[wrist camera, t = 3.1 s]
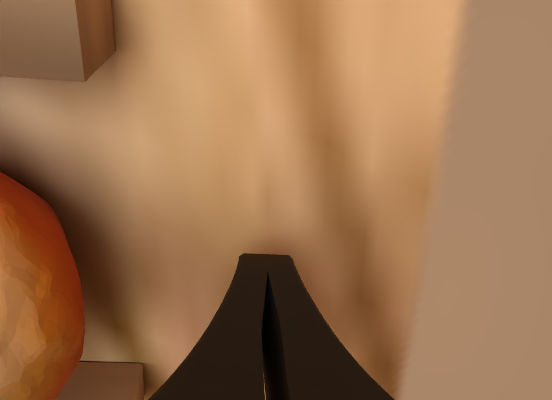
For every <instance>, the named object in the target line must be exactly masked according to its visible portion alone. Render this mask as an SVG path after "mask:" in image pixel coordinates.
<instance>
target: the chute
mask: <svg viewBox="0 0 552 400" xmlns="http://www.w3.org/2000/svg"><path fill="white" fill-rule="evenodd" d="M115 51H116V48H115V36H114V24H113V13H112V1H111V0H0V76H6V77H21V78H36V79H51V80H66V81H81V82H85V81H86V80H87V79H88V78H89V77H90V76H91V75H92V74H93V73H94V72H95V71H96V70H97V69H98V68H99V67H100V66H101V65H102V64H103V63H104V62H105V61H106V60H107V59H108V58H109V57H110V56H111V55H112V54H113V53H114V52H115ZM144 394H145V390H144V378H143V366H142V363H106V362H78V364H77V366H76V368H75V370H74V372H73V373H72V375H71V376H70V378H69V379H68V381H67V382H66V384H65V385H64V387H63V388H62V390H61V391H60V393H59V395H58V397H57V398H56V400H143V399H144Z"/></svg>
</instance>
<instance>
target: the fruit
mask: <svg viewBox="0 0 552 400" xmlns="http://www.w3.org/2000/svg"><path fill="white" fill-rule="evenodd" d="M84 333H85V330H84V307H83V297H82V289H81V283H80V278H79V274H78V271H77V267H76V264H75V261H74V258H73V256H72V253H71V251H70V248H69V246H68V243H67V240H66V236H65V233H64V231H63V228H62V226H61V224H60V222H59V220H58V218H57V216H56V214H55V212H54V210H53V209H52V208H51V206H50V205H49V204H48V203H47V202H46V201H44V200H43V199H42V198H41V197H39V196H38V195H37V194H35V193H34V192H32V191H31V190H29V189H28V188H26V187H24V186H23V185H21V184H20V183H18V182H16V181H15V180H13V179H12V178H10V177H8V176H6V175H5V174H3V173H1V172H0V400H56V398H57V397H58V395H59V393H60V391H61V390H62V388H63V387H64V385H65V384H66V382H67V381H68V379H69V378H70V376H71V375H72V373H73V372H74V370H75V368H76V366H77V364H78V362H79V360H80V358H81V356H82V352H83V343H84Z"/></svg>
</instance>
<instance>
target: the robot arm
mask: <svg viewBox="0 0 552 400" xmlns="http://www.w3.org/2000/svg"><path fill="white" fill-rule="evenodd" d="M263 373H264V377H263ZM264 383H265V392H266V400H394V399H393V398H392V397H391V396H390V395H389V394H388V393H387V392H386V391H385V390H384V389H383V388H382V387H381V386H380V385H378V384H377V383H376V382H375V381H374V380H373V379H372V378H371V377H370V376H369V375H368V374H367V373H366V371H365V370H364V369H363V368H362V367H361V366H360V365H359V364H358V363H357V361H356V360H355V359H354V358H353V357H352V356H351V354H350V353H349V352H348V351H347V349H346V348H345V347H344V346H343V344H342V343H341V342H340V341H339V339H338V338H337V337H336V335H335V334H334V332H333V331H332V330H331V328H330V327H329V325H328V324H327V322H326V321H325V320H324V318H323V316H322V315H321V313H320V312H319V310H318V308H317V307H316V305H315V303H314V302H313V300H312V298H311V297H310V295H309V293H308V292H307V290H306V288H305V286H304V284H303V282H302V280H301V278H300V276H299V274H298V272H297V270H296V267H295V265H294V262H293V259H292V258H291V257H290V256H289V255H269V254H246V253H244V254H242V255H241V256H239V262H238V266H237V269H236V272H235V275H234V278H233V280H232V283H231V285H230V287H229V289H228V291H227V293H226V295H225V297H224V300H223V302H222V304H221V305H220V307H219V309H218V311H217V312H216V314H215V316H214V317H213V319H212V321H211V323H210V324H209V326H208V328H207V329H206V331H205V332H204V334H203V335H202V337H201V338H200V340H199V341H198V342H197V344H196V345H195V346H194V348H193V349H192V351H191V352H190V353H189V355H188V356H187V357H186V358H185V360H184V361H183V362H182V363H181V364H180V366H179V367H178V368H177V369H176V371H175V372H174V373H173V374H172V375H171V376H170V378H169V379H168V380H167V381H166V382H165V383H164V384H163V385H162V386H161V387H160V388H159V389H158V390H157V391H156V392H155V393H154V394H153V395H152V396H151V397H150V398H149V399H148V400H265V394H264Z"/></svg>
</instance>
